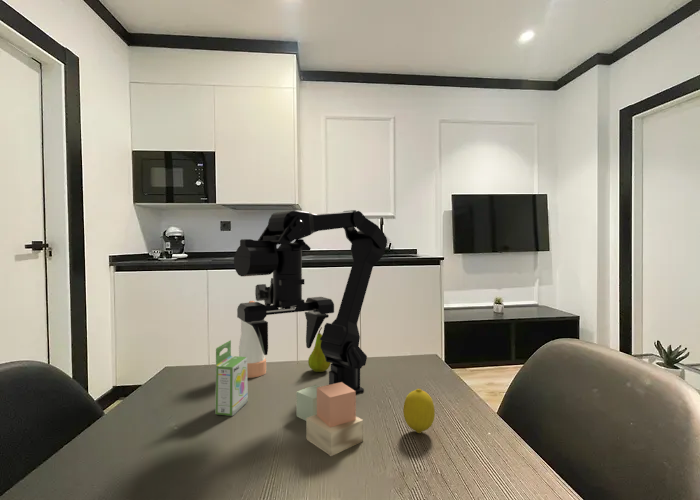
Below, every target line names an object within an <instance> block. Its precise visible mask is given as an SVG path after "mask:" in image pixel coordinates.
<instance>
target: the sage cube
mask: <svg viewBox="0 0 700 500" xmlns="http://www.w3.org/2000/svg"><path fill="white" fill-rule="evenodd" d="M317 387H321V386H320V385H318V384H313V385H310V386H308V387H306V388H302V389H300V390H297V391H296V417H297V418H299V419H301V420H303V421H306V418H308V417H311V416H313V415H316V414H317Z"/></svg>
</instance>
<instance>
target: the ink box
mask: <svg viewBox="0 0 700 500" xmlns="http://www.w3.org/2000/svg"><path fill="white" fill-rule="evenodd" d="M231 344H232V340H231V339H230V340H228V341H227V342H225V343H223V344H221V345H219V346H218V347H216V348H215V404H214V405H215V406H214V407H215V409H214V410H215V413H214V414H215V415H216V416H217V415H220V416H227V417H233V416H235V415H236V414H237V413H238V412H239V411H240V410H241V409H242V408H243V406H245V405H246V404H247V403H248V399H249V397H248V395H249V394H248V390H249V389H248V378H247V357H239V355H238V356H234V355H232V345H231ZM224 349H227V351H226V352H224V353H222V354H221V352H222V351H223V350H224Z"/></svg>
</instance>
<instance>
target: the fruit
mask: <svg viewBox="0 0 700 500" xmlns="http://www.w3.org/2000/svg"><path fill="white" fill-rule="evenodd" d="M322 329H323V327H322V326H320V328H319V330H318V332H317V334H316V337H315V338H316V339H315V344H314V347H313V350H312V352H311V353H310V355H309V357H308V360H307V361H308V367H309V368H310V369H311V370H312V371H314V372H316V373H323V372H326V371H327V370H328V369H329V368H330V367H331V363H330V362H326V359H325V356H324V354H323V352H322V349H321V341H322V340H320V338H321V336H322V334H323V333H320V332H321V330H322Z"/></svg>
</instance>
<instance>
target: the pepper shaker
mask: <svg viewBox="0 0 700 500" xmlns="http://www.w3.org/2000/svg"><path fill="white" fill-rule="evenodd" d="M250 302H255V301H254V300H250V301H249V302H248V303H250ZM265 356H266V355H264V353H263V351H262V348H261V345H260V342H259V339H258V337H257V334H256V332H255V330H254V328H253V326H251V325H250V324H248V323H246V322H244V321H243V320H241V319H240V338H239V345H238V357H247V379H253V378H258V377H261V376H264V375H265V374H266V373H267V358H266V357H265Z"/></svg>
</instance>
